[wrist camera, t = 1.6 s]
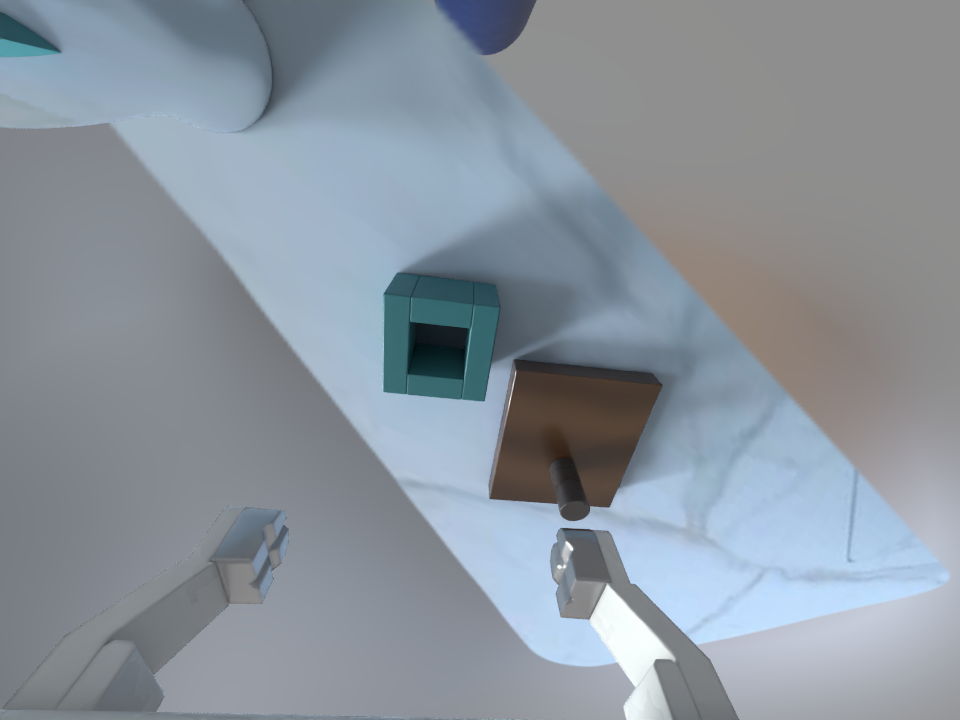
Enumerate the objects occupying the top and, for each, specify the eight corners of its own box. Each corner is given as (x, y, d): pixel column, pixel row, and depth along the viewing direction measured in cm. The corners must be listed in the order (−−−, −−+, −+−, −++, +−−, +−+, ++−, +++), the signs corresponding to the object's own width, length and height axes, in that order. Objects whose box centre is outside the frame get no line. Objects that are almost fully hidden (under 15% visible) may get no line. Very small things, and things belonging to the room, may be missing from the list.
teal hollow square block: (396, 272, 22) (382, 293, 19) (495, 284, 23) (500, 307, 19) (394, 359, 25) (382, 392, 21) (482, 368, 25) (484, 402, 22)
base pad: (513, 358, 25) (524, 406, 20) (653, 373, 26) (695, 422, 21) (488, 484, 31) (492, 545, 26) (603, 493, 32) (628, 553, 27)
